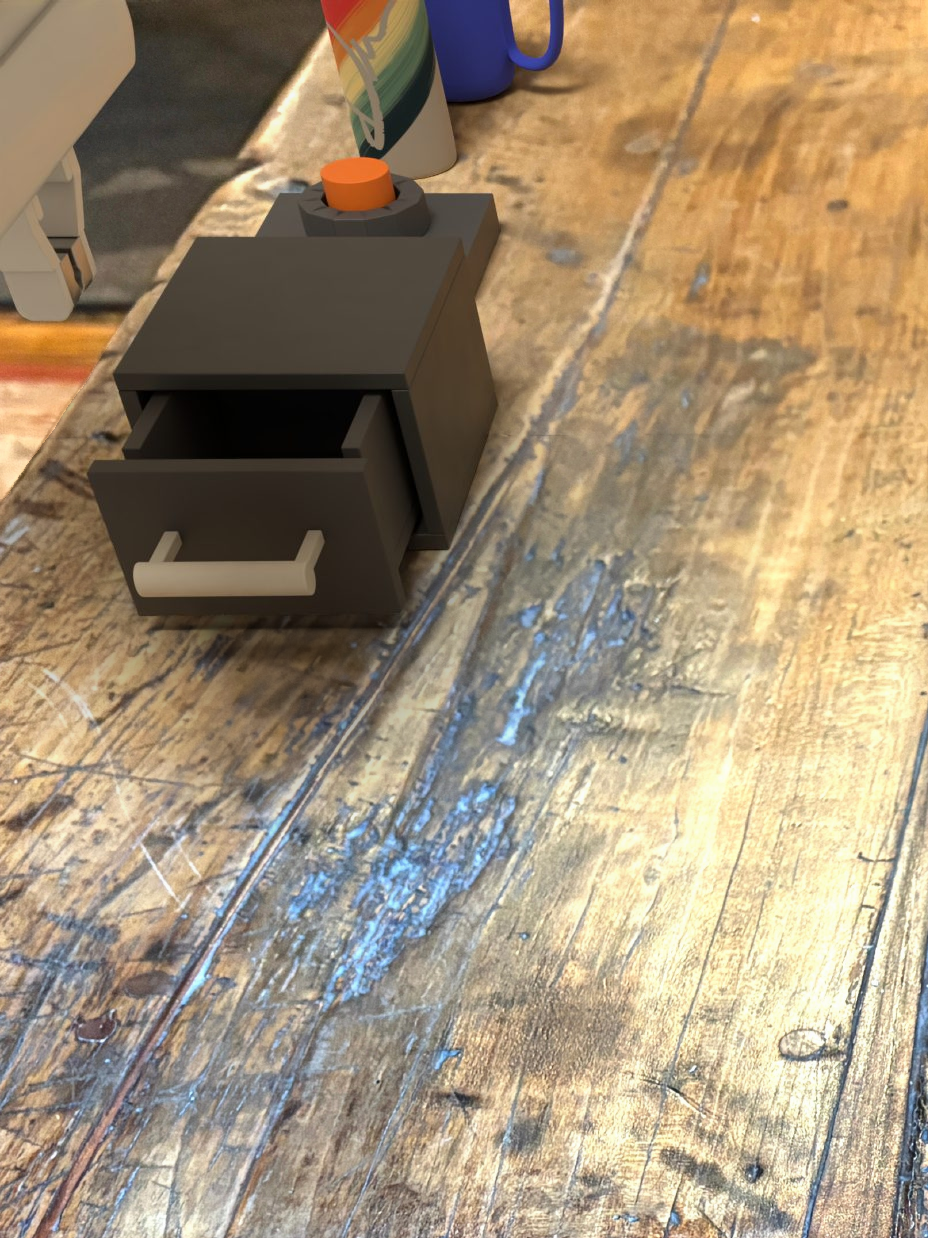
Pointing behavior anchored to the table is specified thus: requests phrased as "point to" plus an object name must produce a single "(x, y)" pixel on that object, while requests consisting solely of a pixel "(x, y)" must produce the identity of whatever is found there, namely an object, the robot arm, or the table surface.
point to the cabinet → (333, 343)
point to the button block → (394, 219)
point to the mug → (484, 46)
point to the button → (357, 184)
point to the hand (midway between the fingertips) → (61, 300)
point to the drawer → (261, 503)
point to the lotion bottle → (392, 84)
